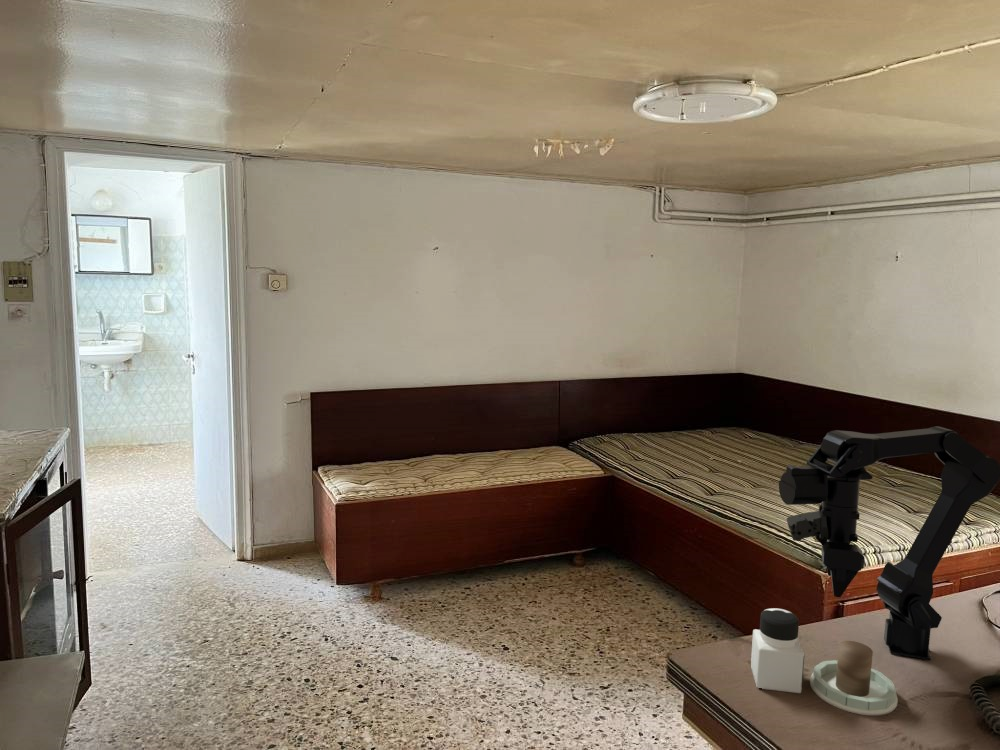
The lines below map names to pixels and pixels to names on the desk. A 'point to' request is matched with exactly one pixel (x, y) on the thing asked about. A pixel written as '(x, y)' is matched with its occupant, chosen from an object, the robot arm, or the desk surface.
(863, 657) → the brown domed cylinder
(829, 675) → the ring dish
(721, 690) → the desk surface
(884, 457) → the robot arm
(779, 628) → the medicine bottle
